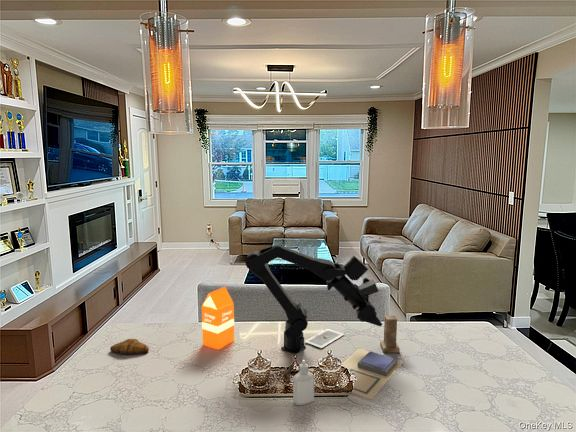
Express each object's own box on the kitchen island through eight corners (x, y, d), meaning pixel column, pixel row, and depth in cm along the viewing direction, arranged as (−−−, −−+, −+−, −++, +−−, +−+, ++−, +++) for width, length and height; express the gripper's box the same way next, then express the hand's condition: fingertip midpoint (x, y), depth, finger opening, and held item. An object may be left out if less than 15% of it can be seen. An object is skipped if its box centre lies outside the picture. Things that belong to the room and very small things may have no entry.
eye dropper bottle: (313, 406, 108) (313, 365, 106) (292, 405, 108) (292, 363, 107) (314, 397, 112) (314, 357, 110) (294, 396, 113) (294, 356, 111)
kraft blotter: (321, 381, 120) (321, 380, 120) (359, 348, 141) (359, 348, 141) (371, 400, 111) (371, 399, 111) (403, 361, 132) (403, 361, 132)
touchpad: (344, 336, 152) (344, 331, 151) (321, 350, 140) (321, 345, 140) (327, 331, 157) (327, 325, 156) (304, 344, 145) (304, 338, 145)
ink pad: (357, 367, 128) (357, 361, 128) (369, 355, 136) (370, 350, 136) (386, 376, 123) (386, 371, 122) (397, 363, 130) (397, 358, 130)
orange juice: (234, 340, 147) (233, 288, 145) (218, 349, 140) (217, 295, 137) (218, 335, 151) (217, 284, 149) (202, 344, 144) (200, 291, 141)
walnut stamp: (383, 353, 138) (384, 320, 136) (380, 346, 143) (381, 314, 141) (399, 353, 137) (400, 320, 136) (395, 346, 143) (396, 314, 141)
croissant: (152, 348, 141) (152, 335, 141) (144, 357, 135) (143, 343, 134) (116, 347, 142) (115, 333, 142) (106, 356, 136) (105, 342, 135)
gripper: (368, 281, 127) (402, 314, 129) (360, 266, 146) (389, 295, 147) (343, 305, 129) (377, 337, 130) (338, 286, 147) (367, 315, 148)
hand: (378, 320), depth 139 cm, fingers open, 9 cm apart
